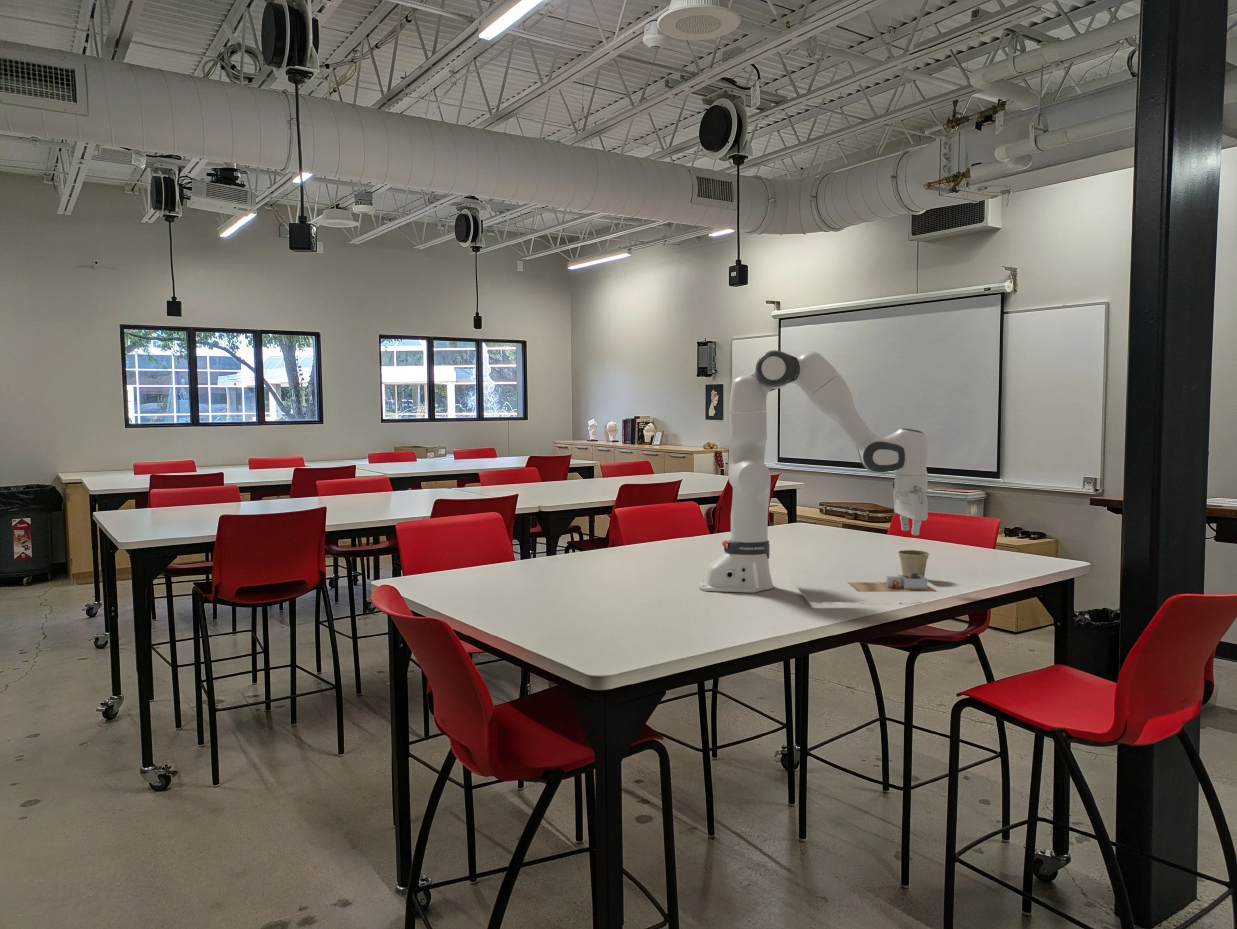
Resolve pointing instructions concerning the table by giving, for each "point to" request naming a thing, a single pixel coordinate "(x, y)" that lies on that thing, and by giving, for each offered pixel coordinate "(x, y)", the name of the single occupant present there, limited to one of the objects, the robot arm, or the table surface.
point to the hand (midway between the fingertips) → (910, 532)
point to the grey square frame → (907, 582)
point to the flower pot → (913, 561)
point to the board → (883, 586)
